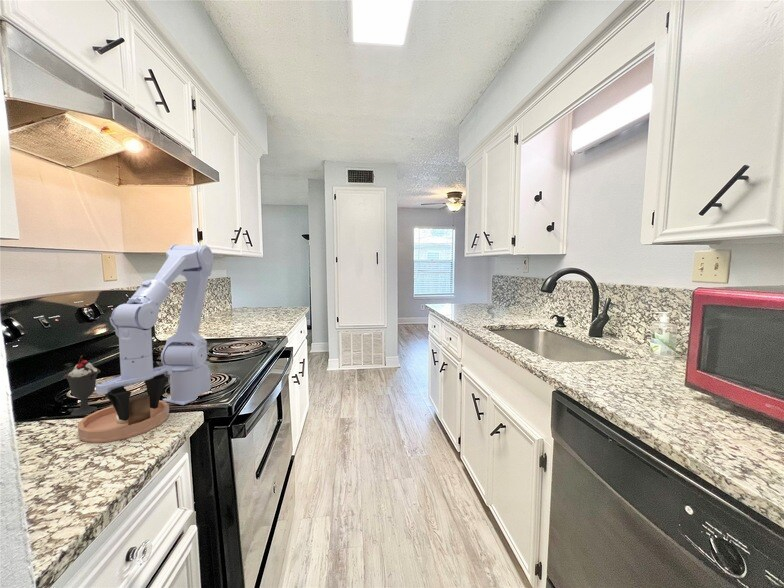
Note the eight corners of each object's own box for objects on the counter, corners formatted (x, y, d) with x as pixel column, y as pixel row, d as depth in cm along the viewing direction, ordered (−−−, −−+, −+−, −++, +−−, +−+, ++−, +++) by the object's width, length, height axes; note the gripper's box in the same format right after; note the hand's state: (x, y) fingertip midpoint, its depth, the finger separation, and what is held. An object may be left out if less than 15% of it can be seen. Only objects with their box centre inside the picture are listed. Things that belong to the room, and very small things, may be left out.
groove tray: (140, 405, 83) (140, 396, 83) (183, 414, 78) (183, 405, 78) (61, 434, 68) (60, 423, 68) (108, 449, 63) (107, 437, 62)
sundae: (79, 419, 75) (75, 358, 74) (58, 415, 76) (54, 356, 75) (109, 407, 81) (106, 351, 80) (89, 404, 83) (86, 350, 81)
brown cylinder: (143, 418, 74) (142, 393, 73) (154, 421, 72) (153, 396, 72) (124, 425, 70) (122, 400, 70) (135, 429, 69) (134, 403, 68)
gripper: (157, 346, 78) (159, 398, 79) (85, 362, 64) (89, 424, 65) (177, 349, 76) (179, 402, 77) (107, 366, 62) (110, 430, 63)
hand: (139, 413), depth 71 cm, fingers open, 6 cm apart
